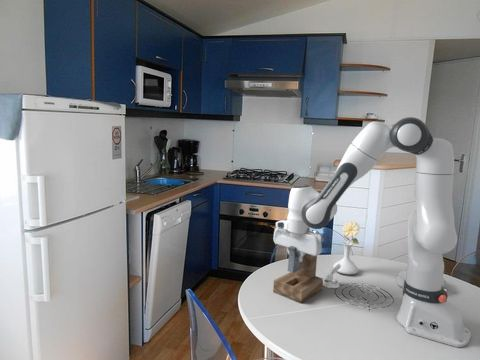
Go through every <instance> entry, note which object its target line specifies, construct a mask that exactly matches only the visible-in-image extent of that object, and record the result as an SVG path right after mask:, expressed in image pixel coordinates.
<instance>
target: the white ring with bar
mask: <svg viewBox="0 0 480 360" xmlns="http://www.w3.org/2000/svg"><path fill="white" fill-rule="evenodd" d="M340 267H341V265H340V264H337V265H336V266H335V267H334V268H333V267H332V269H331V270H329V272H328V273H327V275H326V276H325V278H322V279H323V286H322V287H325V288H329V289H338V288H339V287H340V282H339V280H338V279H336V278H334V274H335V273H337V270H338V269H339V268H340ZM329 282H334V283H329Z"/></svg>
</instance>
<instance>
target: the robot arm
mask: <svg viewBox="0 0 480 360" xmlns="http://www.w3.org/2000/svg"><path fill="white" fill-rule="evenodd" d="M392 148H397V149H399V150H400V151H403V152H406V153H409V154H410V153H411V154H413V155H415V160H416V165H415V166H416V167H415V178H414V179H415V180H414V191H413V194H414V199H415V200H414V201H415V209H416V210H414V211H412V212H411V213H410V214H409V215H408V217H407V221H406V222H407V256H408V257H407V266H406V270H407V274H406V280H405V281H404V285H403V288H402V301H401V304H400V308H399V309H398V312H397V314H396V321H397V322H398V323H399V324H400V325H401V326H402V327H403V328H404V329H405V330H406V332H407V334H408V333H409V334H411V335H414V336H417V337H421V338H424V339H428V340H431V341H435V342H439V343H441V344H445V345H449V346H452V347H455V348H462V347H465V346H467V345H468V344H469V342H470V340H471V337H472V336H471V335H472V334H471V331H470V330H469V328H468V327H466V326H464V317H463V315H462V313H461V312H459V310H457V309H456V308H455V307H454V306H453V305H452V303H450V302H449V301H448V295H449V290H447V291H445V290H444V289H443V288H442V281H443V278H444V271H445V262H444V257H443V255H444V254H447V253H449V252H451V251H452V250H453V249H455V247H456V246H457V244H458V235H457V231H456V226H455V214H454V207H453V206H454V205H453V191H454V189H453V188H454V176H455V153H454V147H453V144H452V143H451V142H450V141H449V140H447V139H445V138H441V137H439V138H438V137H433V135H432V133H431V132H430V130H429V128H428V125H426V123H425V122H424V121H423V120H421V119H419V118H418V117H413V116H408V117H407V116H406V117H404V118H401V119H399V120H398V121H397V122H395V123H393V124H392V125H388V124H385V123H383V122H381V121H371V122H369V123H368V124H367V125H366V126H365V127H363V128H362V130H361V131H359V133H358V134H356V136H355V138H354V139H353V140H352V141H351V143H350V144H349V146H348V147H347V149H346V150H345V152H344V154H343V156H342V158H341V159H340V162H339V164H338V166H337V168H336V170H335V172H334V174H333V176H332V177H331V178H330V180H329V181H328V182H327V184H326V185H325V186H324V187H323V189H322V190H320V192H319V191H318V190H316V189H315V188H313V187H312V185H310V184H298V185H295V186H293V187H292V188H291V189H290V192H289V197H288V204H287V207H288V214H287V217H286V219H281V220H278V221H276V222H275V227H274V231H273V242H274V244H275V245H278V246H282V247H285V248H286V251H287V254H288V255H289V250H288V247H290V246H294V247H297V251H300V254H301V255H300V256H299V257H297V261H298V262H302V260H303V257H304V255H305V254H306V253H307V254H310V255H313V256H317V257H318V256H319V255H320V254H322V240H323V235H322V234H321V233H320V231H318V230H320V229H321V230H322V229H323V228H325V227H326V226H327V225H328V224H329V223H330V221H332V219H333V218H334V217H335V216H336V214H337V212H338V205H337V202H338V201H339V200H340V199H341V197H342V196H343V195H344V193H345V192H346V191H347V190H348V188H349V187H350V186H352V185H354V183H355V182H357V181H358V180H360V179H361V178H363V177H364V176H365V175H367V174H368V173H369V172H370V171H371V170H372V169H373V168H374V167H375V165H377V163H378V162H379V160H380V159H381V158H382V157H383V155H384V154H385V153H386V152H387V151H388V150H390V149H392Z"/></svg>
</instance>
